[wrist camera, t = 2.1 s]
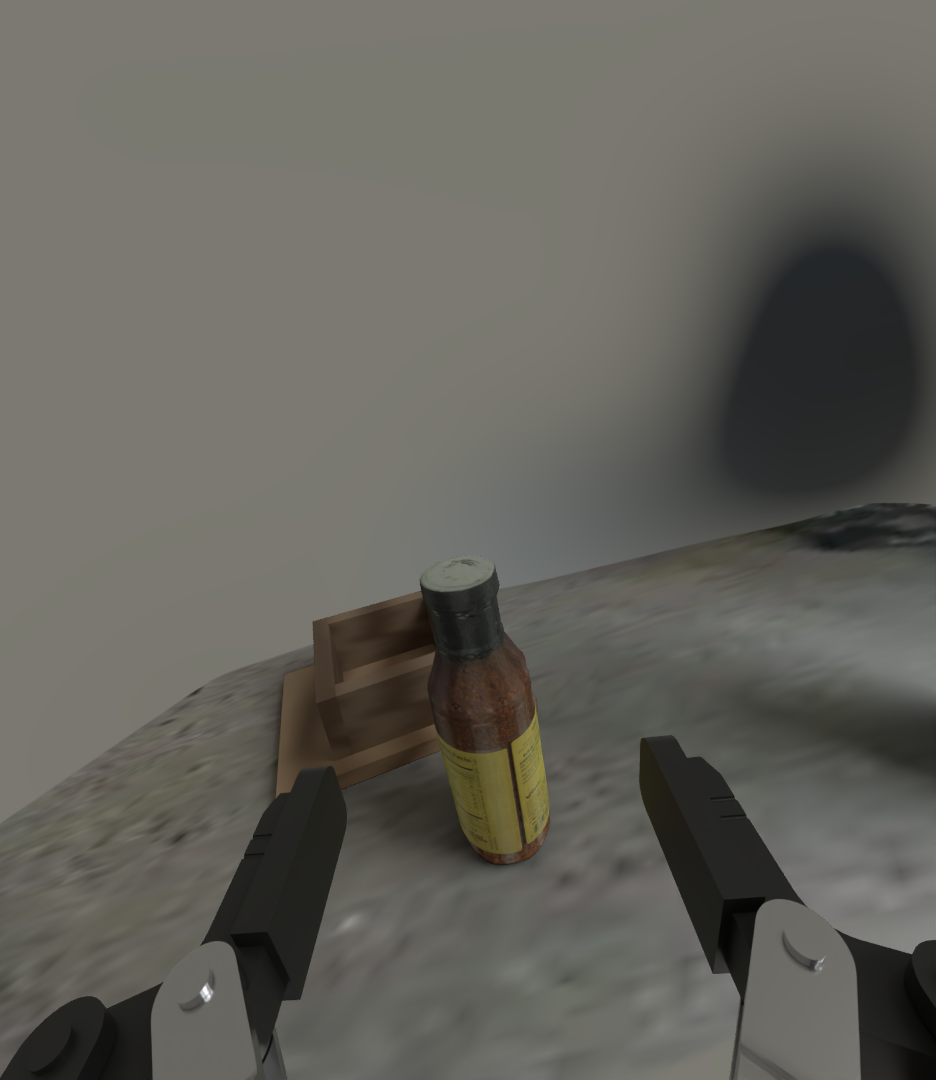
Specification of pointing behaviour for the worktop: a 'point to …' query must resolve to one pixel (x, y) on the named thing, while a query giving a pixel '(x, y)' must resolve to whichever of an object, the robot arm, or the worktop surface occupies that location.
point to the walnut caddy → (361, 695)
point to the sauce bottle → (484, 713)
